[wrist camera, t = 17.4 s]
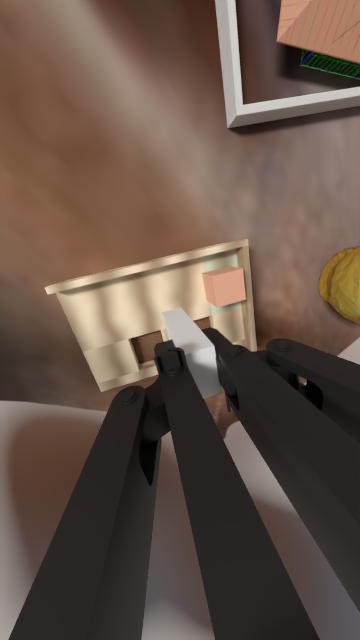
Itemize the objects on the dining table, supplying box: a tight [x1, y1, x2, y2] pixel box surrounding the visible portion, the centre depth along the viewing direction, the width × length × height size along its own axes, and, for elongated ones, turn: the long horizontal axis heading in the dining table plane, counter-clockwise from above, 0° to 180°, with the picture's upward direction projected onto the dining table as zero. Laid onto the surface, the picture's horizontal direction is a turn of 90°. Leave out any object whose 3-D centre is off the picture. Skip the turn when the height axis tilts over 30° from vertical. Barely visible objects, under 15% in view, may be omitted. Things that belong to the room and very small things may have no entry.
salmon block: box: [202, 266, 246, 307], centre depth 33 cm, size 5×5×5 cm
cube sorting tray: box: [45, 239, 257, 392], centre depth 35 cm, size 31×21×5 cm
